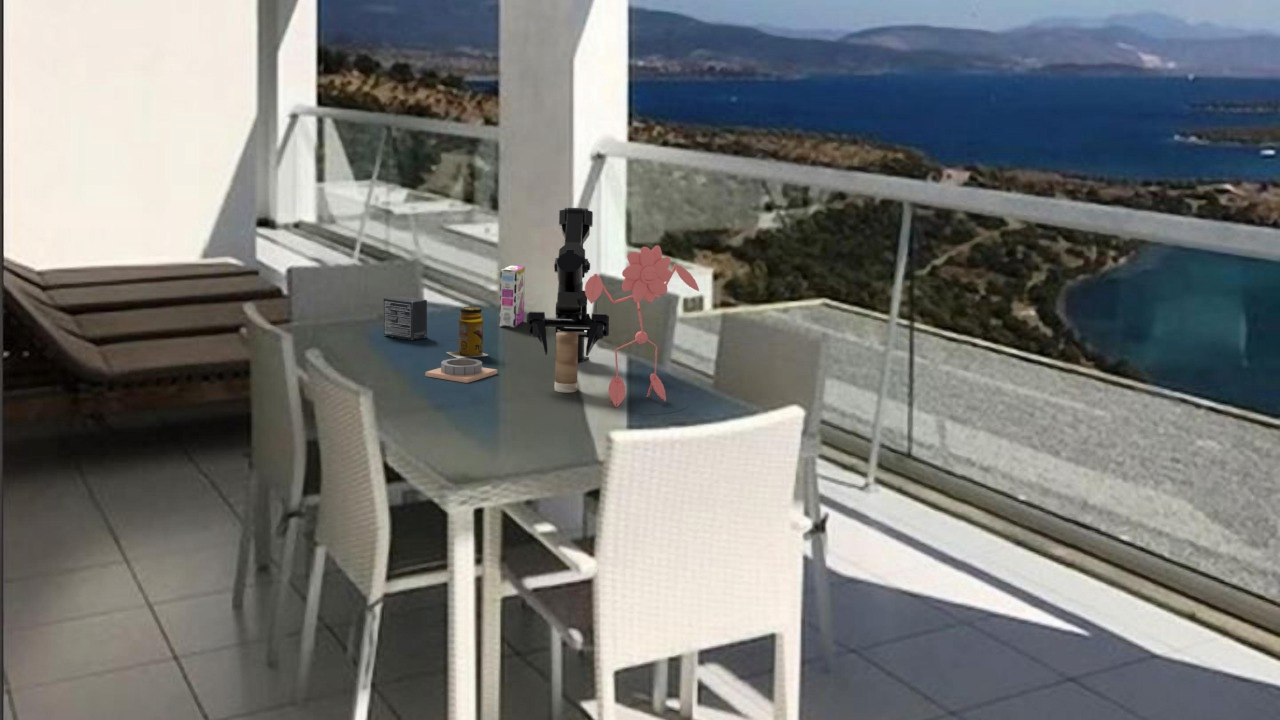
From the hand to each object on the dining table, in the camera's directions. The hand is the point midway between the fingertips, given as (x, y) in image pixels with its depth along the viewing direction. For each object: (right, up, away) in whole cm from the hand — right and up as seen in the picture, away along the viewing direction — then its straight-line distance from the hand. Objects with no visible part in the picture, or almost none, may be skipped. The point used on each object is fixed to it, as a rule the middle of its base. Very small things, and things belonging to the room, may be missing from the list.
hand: (566, 354), depth 291 cm
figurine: (+17, -12, -12) cm, 24 cm away
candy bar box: (-20, +9, +80) cm, 83 cm away
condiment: (-27, 0, +37) cm, 45 cm away
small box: (-47, +5, +57) cm, 74 cm away
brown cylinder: (0, -8, +1) cm, 8 cm away
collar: (-25, -5, +13) cm, 29 cm away
